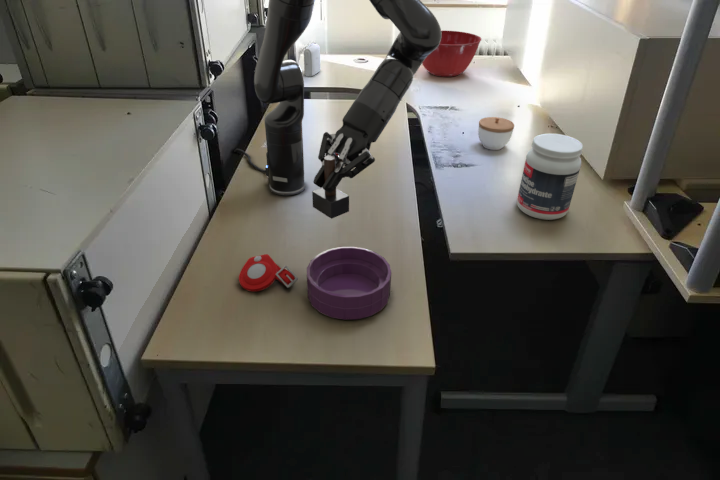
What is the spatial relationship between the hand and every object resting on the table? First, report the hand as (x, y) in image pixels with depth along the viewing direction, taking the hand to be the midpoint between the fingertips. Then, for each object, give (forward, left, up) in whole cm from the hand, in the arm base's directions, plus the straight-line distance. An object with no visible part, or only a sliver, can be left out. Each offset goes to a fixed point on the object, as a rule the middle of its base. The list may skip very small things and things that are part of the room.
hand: (321, 187), depth 100 cm
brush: (0, +2, -5) cm, 6 cm away
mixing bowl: (-84, +133, -20) cm, 158 cm away
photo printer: (-118, +85, -20) cm, 147 cm away
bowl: (+9, 0, -20) cm, 22 cm away
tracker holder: (-5, -11, -20) cm, 23 cm away
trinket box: (-19, +83, -20) cm, 87 cm away
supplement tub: (+14, +60, -20) cm, 64 cm away
